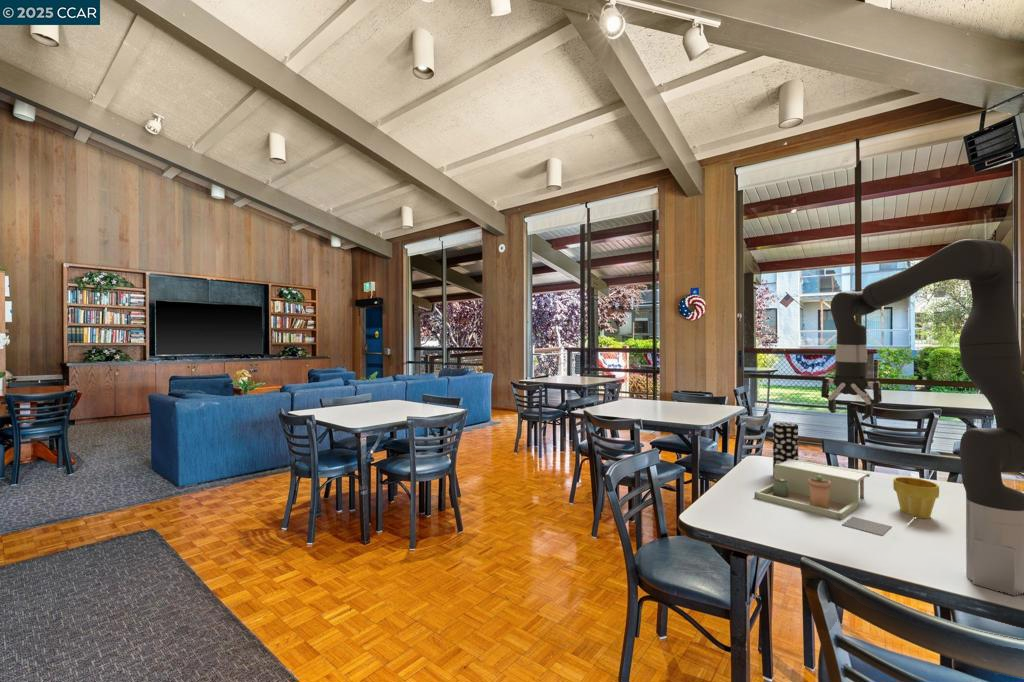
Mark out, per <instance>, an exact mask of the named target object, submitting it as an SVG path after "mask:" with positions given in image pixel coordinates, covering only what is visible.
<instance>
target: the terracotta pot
mask: <svg viewBox="0 0 1024 682" xmlns="http://www.w3.org/2000/svg"><path fill="white" fill-rule="evenodd" d="M808 483H809V484H810V505H813V506H817V507H821V508H825V509H829V487H830V486H831V481H829V480H826V479H822V476H820V475H818V476H817V477H816V478H808Z"/></svg>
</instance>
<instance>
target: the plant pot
mask: <svg viewBox="0 0 1024 682" xmlns="http://www.w3.org/2000/svg"><path fill="white" fill-rule="evenodd" d="M892 481H893V483H892V484H893V486H892V487H893V491H894V492H895V493H896V496H897V497H896V498H897V501H898V506H899V511H901V512H904V513H906V514H909V515H913V518H915V517H917V518H918V519H923V518H927V519H929V517H930V518H931V516H932V512H933V509H934V505H935V503H936V500H937V499H938V498H939V497H940V486H939V484H938V483H936V482H933V481H930V480H927V479H923V478H916V477H908V476H907V477H906V476H897V477H894V478H893V480H892ZM917 518H916V519H917Z"/></svg>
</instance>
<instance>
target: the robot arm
mask: <svg viewBox="0 0 1024 682" xmlns="http://www.w3.org/2000/svg"><path fill="white" fill-rule="evenodd" d="M1013 259H1014V258H1013V255H1012V251H1011V249H1010V248H1009V246H1007V245H1006V244H1005V243H1003V242H1001V241H997V240H992V239H991V240H989V239H981V238H978V239H977V238H965V239H959V240H957V241H954V242H953V243H949V244H948V245H947V246H944V247H943V248H941V249H939V250H937V251H936V252H934V253H933V254H931V255H929V256H928V257H926V258H924V259H922V260H920V261H919V262H916V263H915V264H913V265H910V267H907V268H905V269H904V270H901V271H899V272H897V273H893V274H891V275H889V276H886V277H883V278H881V279H878V280H876V281H873V282H871V283H869V284H867V285H866V286H864V288H863V290H861V291H840V292H838V293H836V294H834V295H833V298H832V299H831V302H830V313H831V316H832V319H833V322H834V323H833V324H834V326H835V328H836V347H835V354H834V355H835V359H834V360H835V362H834V368H835V369H834V371H835V372H834V378H830V377H824V378H822V381H821V382H822V383H821V394H820V396H821V398H824V399H826V400H828V405H827V406H828V408H827V410H828V411H830V413H831V414H835V413H837V400H836V399H837V398H838V397H839V396H840V395H842V394H843V395H850V396H851V395H852V396H857V395H858V396H859V397H860V398H861V399H862V400H863V401H864V403H865V404H864V417H865V418H868V419H869V418H871V416H873V414H874V405H875V404H879V403H881V402H882V401H883V399H882V384H881V383H882V382H880V381H868V378H867V377H868V348H867V328H866V326H865V325H864V324H860V323H857V322H856V318H855V316H856V317H859V316H866V315H869V314H872V313H874V312H876V311H878V310H879V309H881V308H882V307H885V306H888V305H891V304H894V303H897V302H900V301H903V300H905V299H908V298H910V297H911V296H913V295H914V294H916V293H918V291H920V290H921V289H923V288H924V287H926V286H929V285H932V284H936V283H941V282H945V281H951V280H959V281H967V282H969V285H970V292H971V300H972V302H971V309H970V312H969V315H968V317H967V319H966V321H965V323H964V325H963V327H962V329H961V330H960V331H961V332H960V335H959V338H958V340H959V344H958V345H959V353H960V362H961V367H962V369H963V372H964V373H965V375H966V376H967V377H968V378H969V380H970V381H971V382H972V384H973V385H974V386H975V387H976V388H977V389H978V390H979V391H980V392H981V394H982V395H983V396H984V397H985V398H986V399H987V401H988V403H989V405H990V407H991V409H992V410H993V414H994V419H995V420H994V421H995V425H996V427H994V428H993V427H973V428H969V429H967V430H966V431H964V432H963V434H962V435H961V438H960V441H959V442H960V443H959V459H960V469H961V470H960V471H961V482H962V486H963V488H964V490H965V508H966V509H965V539H966V541H965V544H966V545H965V553H966V555H965V561H966V562H965V566H966V567H965V569H966V572H965V575H966V577H967V578H968V579H969V580H970V581H971V580H972V581H971V582H972V584H973V585H976V586H980V587H982V588H986V589H990V590H992V591H996V592H997V591H998V592H999V591H1000V593H1003V592H1005V593H1004V594H1006V593H1008V594H1007V595H1010V594H1012V595H1011V596H1013V595H1016V596H1017V595H1024V594H1023V593H1024V492H1022V491H1020V490H1018V489H1015V488H1011V487H1008V486H1006V485H1005V484H1004V483H1003V478H1002V473H1015V474H1016V473H1018V474H1019V473H1020V474H1021V473H1022V474H1023V473H1024V372H1023V364H1022V354H1021V353H1022V352H1021V347H1020V341H1019V336H1018V332H1017V331H1018V330H1017V323H1016V313H1015V305H1014V293H1013V290H1014V288H1013V287H1014V260H1013ZM832 384H833V385H834V386H835V387H836V388H835V389H834V390H833V391H832V393H831V394H830V386H832ZM867 387H870V389H871V390H872V391H873V392H872V394H873V398H872V397H871V396H870V394H869V392H868V391H867V390H866V389H867ZM1017 593H1018V594H1017ZM1021 593H1022V594H1021Z"/></svg>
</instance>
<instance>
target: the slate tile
mask: <svg viewBox="0 0 1024 682" xmlns="http://www.w3.org/2000/svg"><path fill="white" fill-rule="evenodd" d="M841 526H843V527H847V528H851V529H854V530H858V531H861V532H866V533H869V534H872V535H873V534H874V535H877V536H881V537H883V536H884V535H885V534H886V533H887V532H888V531H889V530H891V529H892V527H893V526H891V525H888V524H883V523H879V522H875V521H873V520H872V521H871V520H867V519H864V518H859V517H855V516H851V517H850V518H848V519H847V520H846V521H844V523H842V524H841Z"/></svg>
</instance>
